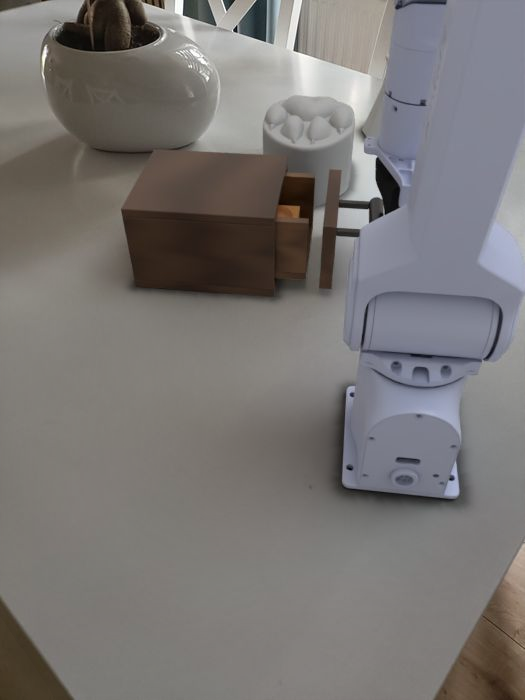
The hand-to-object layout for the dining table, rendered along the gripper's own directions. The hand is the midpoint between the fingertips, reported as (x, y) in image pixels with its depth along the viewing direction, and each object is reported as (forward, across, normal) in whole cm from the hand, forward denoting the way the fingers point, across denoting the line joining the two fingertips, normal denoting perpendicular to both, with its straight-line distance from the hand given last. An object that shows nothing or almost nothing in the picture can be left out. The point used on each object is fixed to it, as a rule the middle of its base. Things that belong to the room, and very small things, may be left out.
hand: (397, 235), depth 59 cm
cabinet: (+4, 0, -18) cm, 18 cm away
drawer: (+3, 0, -10) cm, 10 cm away
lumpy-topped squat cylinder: (+4, -17, -10) cm, 20 cm away
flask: (+4, -31, 0) cm, 31 cm away
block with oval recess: (+2, +1, -12) cm, 12 cm away
